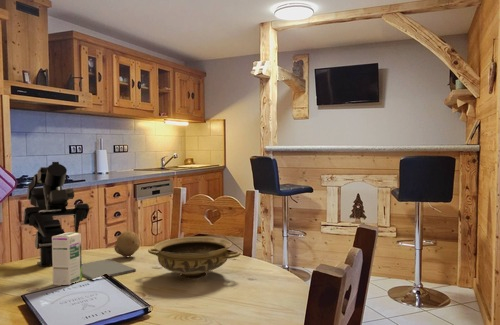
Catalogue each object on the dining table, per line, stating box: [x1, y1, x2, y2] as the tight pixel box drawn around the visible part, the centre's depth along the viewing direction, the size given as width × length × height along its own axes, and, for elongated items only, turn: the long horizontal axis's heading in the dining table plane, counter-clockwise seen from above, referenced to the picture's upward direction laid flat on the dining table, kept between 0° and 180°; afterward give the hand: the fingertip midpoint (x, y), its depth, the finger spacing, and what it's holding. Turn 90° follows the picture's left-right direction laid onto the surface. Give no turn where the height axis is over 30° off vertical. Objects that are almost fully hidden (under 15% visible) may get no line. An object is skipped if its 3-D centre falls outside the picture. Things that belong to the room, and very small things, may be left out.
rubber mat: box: [82, 258, 137, 280], centre depth 126 cm, size 20×14×1 cm
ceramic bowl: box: [147, 236, 241, 280], centre depth 118 cm, size 30×24×10 cm
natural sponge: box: [114, 230, 141, 257], centre depth 143 cm, size 9×9×10 cm
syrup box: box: [52, 231, 83, 287], centre depth 112 cm, size 6×6×14 cm
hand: (61, 234), depth 119 cm, fingers open, 9 cm apart
